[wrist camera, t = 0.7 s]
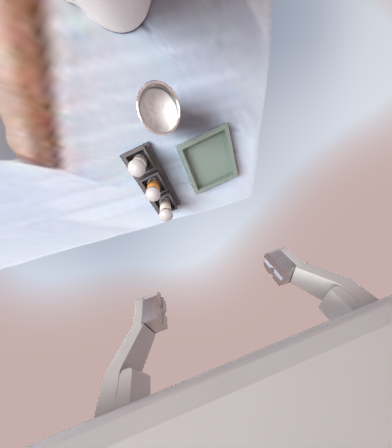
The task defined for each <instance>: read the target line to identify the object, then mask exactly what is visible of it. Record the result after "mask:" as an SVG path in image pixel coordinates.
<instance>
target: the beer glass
mask: <svg viewBox="0 0 392 448" xmlns="http://www.w3.org/2000/svg"><path fill="white" fill-rule="evenodd" d="M137 112H138V115H139V118H140V120H141V122H142V123H143V125H144V126H145V128H146V129H147V130H148V131H150V132H151V133H153V134H155V135H157V136H166V135H169V134H171V133H172V132H173V131H174V130H175V129H176V128H177V126H178V124H179V121H180V116H181V108H180V103H179V100H178V98H177V96H176V94H175V92H174V91H173V90H172V88H171V87H170V86H168V85H167V84H166V83H164V82H161V81H157V80H153V81H149V82H147V83H145V84H144V85H143V86H142V87H141V89H140V90H139V93H138V96H137Z"/></svg>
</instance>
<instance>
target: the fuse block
mask: <svg viewBox="0 0 392 448" xmlns="http://www.w3.org/2000/svg"><path fill="white" fill-rule="evenodd" d="M137 154H142V155H144V156H145V157H146V158H147V160H148V164H147V166H146V170H145V173H144V175H143V176H141V177H135V176H133V177H134V178H135V180H136V181H137V183H138V184H139V186H140V187H141V189H142V190H143V192H144V193H145V195H146V190H147V186H148V180H149V179H150V178H152V177H155V178H157V179H158V180H159V181H160V198H159V200H160V199H162V198H164V197H168V198H169V199H170V203H171V204H170V205H171V211H173V210H175V209H177V206H178V205H180V202H179V200H178V198H177V196H176V194H175V192H174V191H173V189H172V187H171V185H170V183H169V181H168V179H167V177H166V175H165V173H164V171H163V169H162V167H161V165H160V163H159V162H158V160H157V158H156V156H155V154H154V152H153V150H152V148H151V146H150V144H149V142H146V143H144V144H142V145H140V146H138V147H136V148H134V149H132V150H130V151H128V152H126V153H124V154H122V155H120V157H121V159H122V160H123V162H124V163H125V165H126V166H127V168H128V164H129V162H130V161H131V160H133V159H134V157H135V156H136V155H137ZM159 200H157V201H154V202H153V201H150V202H151V204H152V205H153V207H154V208H155V210H156V211H157V213H158V214H160V204H159Z"/></svg>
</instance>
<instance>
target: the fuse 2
mask: <svg viewBox="0 0 392 448" xmlns="http://www.w3.org/2000/svg"><path fill="white" fill-rule="evenodd" d="M159 204H160V219H161V220H163V221H169V220H171V219H172V217H173V215H172V211H171V205H170V204H171V203H170V199H169V198H168V197H164V198H162V199H160V200H159Z"/></svg>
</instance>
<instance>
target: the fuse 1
mask: <svg viewBox="0 0 392 448" xmlns="http://www.w3.org/2000/svg"><path fill="white" fill-rule="evenodd" d="M147 164H148V160H147V158H146V157H145V156H144V155H142V154H137V155H136V156H135V157H134V159H133V160H131V161H130V162H129V164H128V171H129V172H130V174H131V175H133V176H135V177H141V176H143V175H144V173H145V170H146V166H147Z"/></svg>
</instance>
